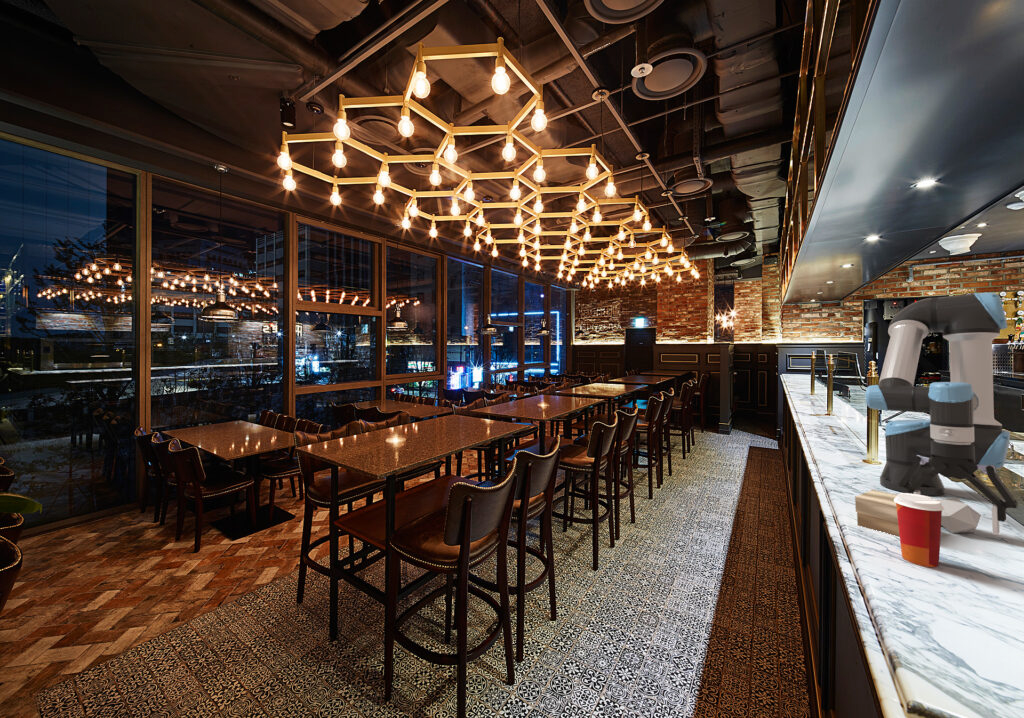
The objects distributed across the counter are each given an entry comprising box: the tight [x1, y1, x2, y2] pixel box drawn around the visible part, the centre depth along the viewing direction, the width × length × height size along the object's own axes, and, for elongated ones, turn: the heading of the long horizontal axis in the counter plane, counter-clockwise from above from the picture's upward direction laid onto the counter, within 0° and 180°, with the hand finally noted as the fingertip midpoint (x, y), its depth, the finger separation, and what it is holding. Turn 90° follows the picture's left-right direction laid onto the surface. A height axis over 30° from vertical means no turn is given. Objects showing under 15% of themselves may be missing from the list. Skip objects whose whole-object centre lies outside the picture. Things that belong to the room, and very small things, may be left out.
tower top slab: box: [854, 489, 898, 523], centre depth 102 cm, size 11×11×4 cm
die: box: [937, 498, 982, 534], centre depth 99 cm, size 8×9×10 cm
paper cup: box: [894, 492, 944, 569], centre depth 85 cm, size 8×8×14 cm
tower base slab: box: [856, 512, 900, 538], centre depth 101 cm, size 11×11×4 cm
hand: (954, 523), depth 99 cm, fingers open, 13 cm apart
